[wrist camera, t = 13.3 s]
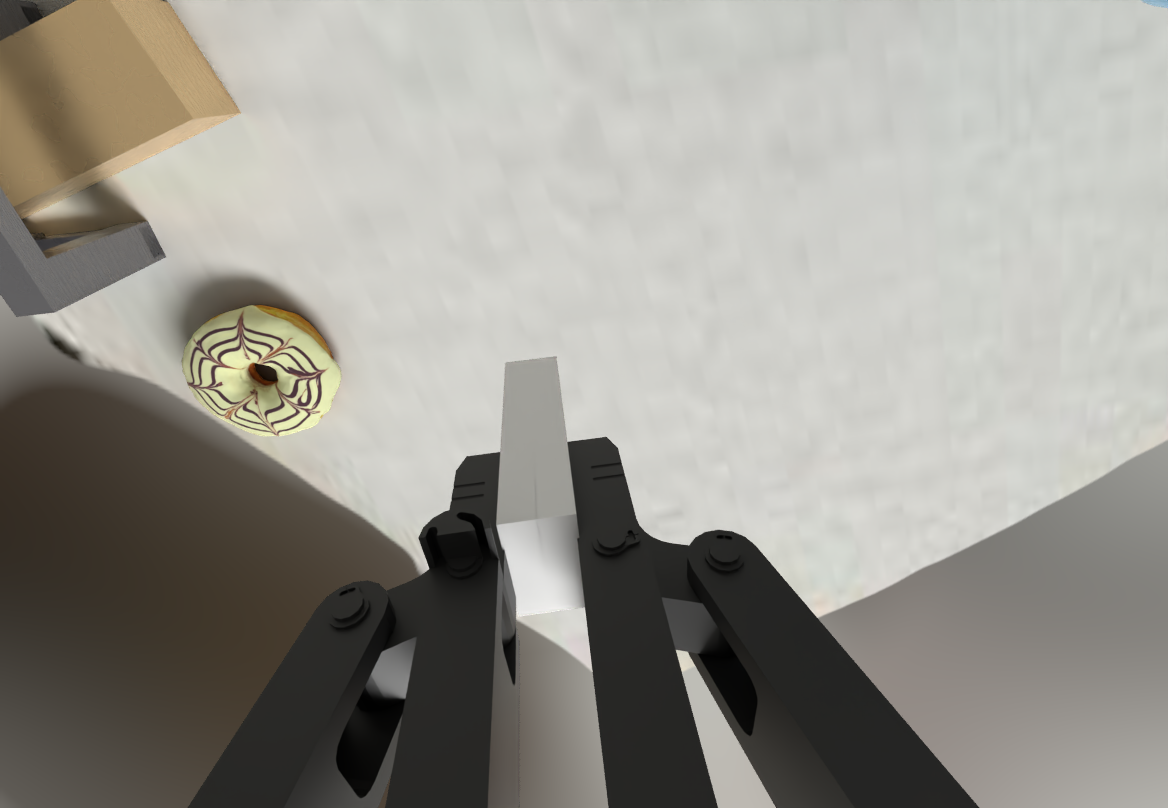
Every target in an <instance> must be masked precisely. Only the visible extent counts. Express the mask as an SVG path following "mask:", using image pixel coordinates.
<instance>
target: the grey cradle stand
mask: <svg viewBox="0 0 1168 808" xmlns="http://www.w3.org/2000/svg"><path fill="white" fill-rule="evenodd" d="M41 19H42V17H41V15H40V13H39V11H38V9H37V7H36V5H35V3H33V2H26V1H20V0H0V41H1V40H3V39H5V38H7V37H9V36H11V35H12V34H14V33H16V32H18V31H20V30H22V29H24V28H26V27H27V26H29V25H31V24H33V23H35V22H37V21H39V20H41ZM165 257H166V256H165V254H164V252H163V250H162V248H161V246H160V244H159V243H158V241H157V239H156V237H155V235H154V233H153V231H152V229H151V227H150V225H149V223H148V221H144V222H134V223H125V224H117V225H114V226H112V227H109V228H106V229H103V230H98V231H88V232H79V233H70V234H61V235H52V236H44V234H43V233H34V234H30V232H29V231H28V229H27V228H26V226H25V224H24V223H23V221H22V220H21V218H20V217H19V215H18V214H17V212H16V210H15V209H14V207H13V206H12V204H11V203H10V201H9V199H8V198H7V196H6V195H5V193H4V192H3V190H2V189H1V187H0V295H1V296H2V297H3V299H4V300H5V301H6V303H7V304H8V305H9V307H10V308H11V310H12V311H13V313H14V314H15V315H16V317H19V316H28V315H36V314H45V313H54V312H56V311H58V310H60V309H62V308H64V307H66V306H68V305H71V304H73V303H75V302H77V301H79V300H81V299H83V298H85V297H87V296H89V295H91V294H93V293H95V292H97V291H99V290H101V289H103V288H105V287H107V286H109V285H111V284H113V283H115V282H117V281H119V280H121V279H123V278H125V277H127V276H129V275H131V274H133V273H135V272H137V271H139V270H141V269H143V268H145V267H147V266H149V265H151V264H153V263H155V262H157V261H159V260H161V259H163V258H165Z"/></svg>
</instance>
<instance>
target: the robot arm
mask: <svg viewBox="0 0 1168 808" xmlns="http://www.w3.org/2000/svg"><path fill="white" fill-rule="evenodd" d="M1141 1H1142V2H1144V3H1147V4H1150V5H1153V6H1158V7H1164V8H1168V0H1141ZM419 541H420V544H421V546H422V549H423V552H424V555H425V557H426V560H427V563H428V566H429V568H430V569H429V570H428V571H426V572H425V573H424V574H422V575H421V576H419V577H417V578H415V579H413V580H412V581H409V582H407V583H405V584H402V585H400V586H397V587H395V588H392V589H390V590H387V591H386V590H385V589H384V588H383V587H382V586H380V584H378V583H374V582H371V581H360V582H353V583H351V584H349V585H346V586H343V587H341V588H339V589H338V590H336V591H335V592H333V593H332V594H330V595H329V596H327V597H326V598H325V600H324V601H323V602H322V603H321V604H320V605H319V606H318V608H317V609H316V610H315V612H314V613H313V615H312V617H311V618H310V620H309V621H308V623H307V624H306V626H305V627H304V629H303V630H302V632H301V633H300V635H299V637H298V638H297V640H296V641H295V643H294V644H293V646H292V647H291V649H290V650H289V652H288V654H287V655H286V657H285V658H284V660H283V661H282V663H281V664H280V666H279V667H278V669H277V671H276V672H275V674H274V675H273V677H272V678H271V680H270V681H269V683H268V684H267V686H266V688H265V689H264V691H263V692H262V694H261V695H260V697H259V698H258V700H257V701H256V703H255V705H254V706H253V708H252V709H251V711H250V712H249V714H248V715H247V717H246V719H245V720H244V721H243V723H242V725H241V726H240V728H239V729H238V731H237V732H236V734H235V736H234V737H233V739H232V740H231V742H230V743H229V745H228V746H227V748H226V749H225V751H224V752H223V754H222V756H221V757H220V759H219V760H218V762H217V763H216V765H215V766H214V768H213V770H212V771H211V772H210V774H209V776H208V777H207V779H206V780H205V782H204V783H203V785H202V786H201V788H200V790H199V791H198V793H197V794H196V796H195V797H194V799H193V800H192V802H191V803H190V805H189V806H188V808H378V806H379V804H380V801H381V799H382V796H383V794H384V791H385V789H386V786H387V783H388V781H389V778H390V776H391V779H390V785H389V790H388V796H387V801H386V807H385V808H519V807H520V804H519V803H520V802H519V797H520V796H519V791H520V790H519V789H520V788H519V787H520V784H519V783H520V782H519V781H520V777H519V773H520V771H519V770H520V768H519V767H520V763H519V761H520V758H519V757H520V753H519V750H520V743H519V742H520V739H519V738H520V736H519V734H520V733H519V732H520V730H519V729H520V728H519V727H520V724H519V723H520V722H519V721H520V711H519V708H520V707H519V706H520V705H519V704H520V695H519V694H520V690H519V689H520V687H519V686H520V682H519V681H520V673H519V671H520V670H519V669H520V668H519V666H520V661H519V660H520V659H519V658H520V647H519V646H520V643H519V637H518V633H517V628H516V608H517V612H518V616H519V617H520V616H527V615H534V614H541V613H548V612H555V611H562V610H569V609H576V608H583V607H585V610H586V619H587V627H588V636H589V644H590V653H591V661H592V670H593V678H594V687H595V695H596V704H597V712H598V721H599V729H600V738H601V746H602V755H603V763H604V772H605V780H606V788H607V798H608V806H609V808H718V806H717V803H716V799H715V795H714V791H713V788H712V784H711V780H710V776H709V773H708V769H707V765H706V762H705V758H704V754H703V750H702V747H701V743H700V739H699V735H698V732H697V728H696V724H695V720H694V717H693V713H692V709H691V705H690V702H689V698H688V694H687V691H686V687H685V683H684V679H683V676H682V672H681V668H680V664H679V661H678V657H677V653H676V650H682V651H687V652H688V653H689V655H690V657H691V659H692V661H693V662H694V664H695V666H696V667H697V669H698V671H699V673H700V675H701V676H702V678H703V680H704V682H705V683H706V685H707V687H708V689H709V690H710V692H711V694H712V696H713V697H714V699H715V701H716V703H717V704H718V706H719V708H720V710H721V711H722V713H723V715H724V717H725V719H726V720H727V722H728V724H729V726H730V727H731V729H732V731H733V732H734V734H735V736H736V738H737V740H738V741H739V743H740V745H741V747H742V748H743V750H744V752H745V754H746V755H747V757H748V759H749V761H750V762H751V764H752V766H753V768H754V770H755V771H756V773H757V775H758V776H759V778H760V780H761V782H762V784H763V785H764V787H765V789H766V791H767V792H768V794H769V796H770V798H771V799H772V801H773V803H774V805H775V806H776V808H979V807H978V806H977V805H976V803H975V802H974V801H973V800H972V799H971V797H970V796H969V795H968V794H967V793H966V792H965V790H964V789H963V788H962V787H961V786H960V785H959V783H958V782H957V781H956V780H955V779H954V778H953V776H952V775H951V774H950V773H949V772H948V771H947V769H946V768H945V767H944V766H943V765H942V764H941V762H940V761H939V760H938V759H937V758H936V757H935V756H934V754H933V753H932V752H931V751H930V749H929V748H928V747H927V746H926V745H925V744H924V742H923V741H922V740H921V739H920V738H919V737H918V735H917V734H916V733H915V732H914V731H913V730H912V728H911V727H910V726H909V725H908V724H907V723H906V721H905V720H904V719H903V718H902V717H901V716H900V714H899V713H898V712H897V711H896V710H895V709H894V707H893V706H892V705H891V704H890V703H889V701H888V700H887V699H886V698H885V697H884V696H883V694H882V693H881V692H880V691H879V690H878V689H877V688H876V686H875V685H874V684H873V683H872V682H871V680H870V679H869V678H868V677H867V676H866V675H865V673H864V672H863V671H862V670H861V669H860V668H859V667H858V665H857V664H856V663H855V662H854V660H852V658H851V657H850V656H849V655H848V653H847V652H846V651H845V650H844V649H843V648H842V647H841V645H840V644H839V643H838V642H837V641H836V639H835V638H834V637H833V636H832V635H831V634H830V632H829V631H828V630H827V629H826V628H825V627H824V625H823V624H822V623H821V622H820V621H819V620H818V618H817V617H816V616H815V615H814V614H813V612H812V611H811V610H810V609H809V608H808V607H807V605H806V604H805V603H804V602H803V601H802V600H801V598H800V597H799V596H798V595H797V594H796V593H795V591H794V590H793V589H792V588H791V587H790V586H789V584H788V583H787V582H786V581H785V580H784V579H783V577H782V576H781V575H780V574H779V573H778V572H777V570H776V569H775V568H774V567H773V566H772V564H771V563H770V562H769V561H768V560H767V559H766V557H765V556H764V555H763V554H762V553H761V552H760V550H759V549H758V548H757V547H756V546H755V545H754V544H753V543H752V542H751V541H749V540H748V539H747V538H746V537H744V536H742V535H739V534H737V533H734V532H732V531H723V530H715V531H709V532H705V533H703V534H701V535H699V536H698V537H696V538H695V539H694V540H693V541H692V543H691V544H690V546H688V545H681V544H673V543H668V542H663V541H660V540H658V539H655V538H653V537H651V536H650V535H649V534H647V533H646V532H645V531H644V530H643V529H642V528H641V527H640V526H639V524H638V521H637V519H636V516H635V512H634V508H633V504H632V501H631V497H630V493H629V489H628V485H627V481H626V478H625V474H624V470H623V466H622V463H621V459H620V455H619V451H618V448H617V447H616V446H615V445H614V444H613V443H612V442H611V441H610V440H609V439H608V438H607V437H602V438H595V439H587V440H579V441H572V442H567V436H566V428H565V420H564V412H563V404H562V396H561V389H560V381H559V373H558V365H557V357H548V358H540V359H532V360H524V361H515V362H507V363H505V379H504V397H503V414H502V432H501V449H500V452H498V453H490V454H482V455H475V456H467V457H466V458H465V460H464V461H463V462H462V464H461V465H460V466H459V468H458V469H457V470H456V475H455V481H454V489H453V493H452V501H451V505H450V510H449V511H445V512H443V513H441V514H440V515H438V516H436V517H434V518H433V519H432V520H431V521H430V522H429V523H428V524H426V525H425V526H424V527H423V529H422V532H421V534H420V536H419ZM391 773H392V774H391Z"/></svg>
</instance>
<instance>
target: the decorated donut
mask: <svg viewBox="0 0 1168 808" xmlns="http://www.w3.org/2000/svg"><path fill="white" fill-rule="evenodd" d="M255 363H258V364H262V365H266V366H270V367H272V368H274V369H275V370H276V372H277V378H278V380H277V381H266V380H264V379H263V378H262V377H261V376H260V375H259V374H258V373H257V371H256V370H255V366H254V365H255ZM182 368H183V373H184V375H185V377H186V380H187V383H188V386H189V388H190V389H191V391H192V392H193V394H194V396H195V398H196V399H197V400H198V401H199V402H200V403H201V404H202V405H203V406H204V407H205V408H206V409H207V410H208V411H210V412H211V413H212V414H213V415H215V416H216V417H218V418H220V419H222V420H224V421H226V422H228V423H230V424H232V425H234V426H236V427H238V428H240V429H242V430H244V431H247V432H250V433H253V434H256V435H260V436H283V435H289V434H292V433H296V432H298V431H301V430H303V429H308V428H312V427H313V426H315V425H316V424H317V423H318V422H319V420H320V418H322V416H323V415H324V414H325V413H327V412H328V411H329V410H330V408H331V403H332V401H333V397H334V395H335V393H336V391H337V389H338V387H339V385H340V380H341V371H340V368H339V366H338V364H337V363H336V361H334V360H333V356H332V354H331V351H330V350H329V348H328V346H327V344H326V342H325V341H324V339H323V338H322V337H321V335H320V334H319V333H318V332H317V331H316V329H315V328H314V327H313V326H312V325H311V324H310V323H309V322H308V321H306V320H304V319H303V318H302V317H301V316H300V315H298V314H296V313H292V312H287V311H284V310H281V309H278V308H274V307H269V306H263V305H255V306H253V305H249V306H246V307H243V308H240V309H236V310H233V311H229V312H225V313H222V314H219V315H217V316H215V317H213V318H212V319H210V320H209V321H207V322H206V323H205V324H203V325H202V326H201V327H200V328H199V329H198V330H197V331H196V332H195V333H194V334H193V336H192V338H191V339H190V340H189V342H188V344H187V345H186V347H185V349H184V354H183V359H182Z"/></svg>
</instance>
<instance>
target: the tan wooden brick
mask: <svg viewBox="0 0 1168 808" xmlns="http://www.w3.org/2000/svg"><path fill="white" fill-rule="evenodd" d="M240 113H241V112H240V111H239V109H238V108H237V106H236V105H235V103H234V101H233V100H232V98H231V97H230V95H229V94H228V92H227V91H226V89H225V88H224V86H223V85H222V83H221V82H220V80H219V79H218V77H217V76H216V74H215V73H214V71H213V70H212V68H211V66H210V65H209V63H208V62H207V60H206V59H205V57H204V56H203V54H202V53H201V51H200V50H199V48H198V47H197V45H196V44H195V42H194V41H193V39H192V38H191V36H190V35H189V33H188V31H187V30H186V28H185V27H184V25H183V24H182V22H181V21H180V19H179V18H178V16H177V15H176V13H175V12H174V10H173V9H172V7H171V6H170V4H169V3H168V2H165V1H160V0H76V1H74V2H73V3H71V4H69V5H67V6H65V7H63V8H61V9H59V10H57V11H56V12H54V13H52V14H50V15H48V16H46V17H44V18H42V19H41V20H39V21H37V22H35V23H33V24H31V25H29V26H27V27H26V28H24V29H22V30H20V31H18V32H16V33H14V34H12V35H11V36H9V37H7V38H5V39H3V40H1V41H0V187H1V189H2V190H3V192H4V193H5V195H6V196H7V198H8V199H9V201H10V203H11V204H12V206H13V207H14V209H15V210H16V212H17V214H18V215H19V217H20V218H21V219H24V218H26V217H28V216H30V215H32V214H34V213H36V212H38V211H40V210H42V209H44V208H46V207H48V206H50V205H52V204H55V203H57V202H59V201H61V200H63V199H65V198H67V197H69V196H71V195H73V194H75V193H77V192H79V191H81V190H83V189H86V188H88V187H90V186H92V185H94V184H96V183H98V182H100V181H102V180H104V179H106V178H108V177H110V176H112V175H114V174H117V173H119V172H121V171H123V170H125V169H127V168H129V167H131V166H133V165H135V164H137V163H139V162H141V161H143V160H145V159H148V158H150V157H152V156H154V155H156V154H158V153H160V152H162V151H164V150H166V149H168V148H170V147H172V146H174V145H176V144H178V143H181V142H183V141H185V140H187V139H189V138H191V137H193V136H195V135H197V134H199V133H201V132H203V131H205V130H207V129H209V128H212V127H214V126H216V125H218V124H220V123H222V122H224V121H226V120H228V119H230V118H232V117H234V116H236V115H238V114H240Z"/></svg>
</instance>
